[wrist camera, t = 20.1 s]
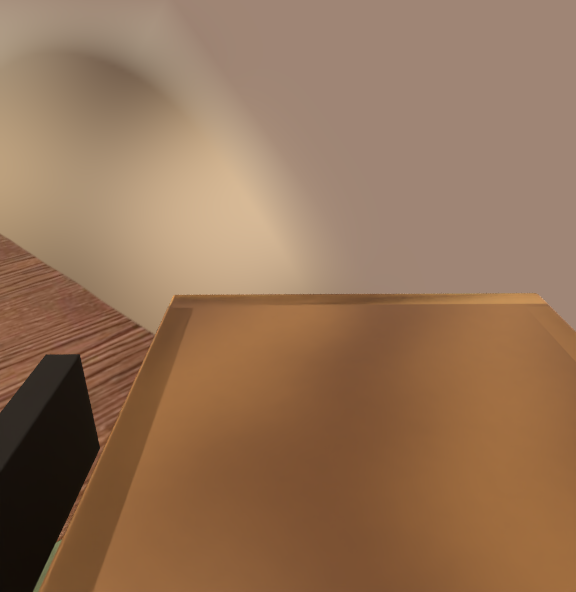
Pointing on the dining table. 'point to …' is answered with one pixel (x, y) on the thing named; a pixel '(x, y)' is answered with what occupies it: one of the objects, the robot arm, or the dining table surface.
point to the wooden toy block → (338, 450)
